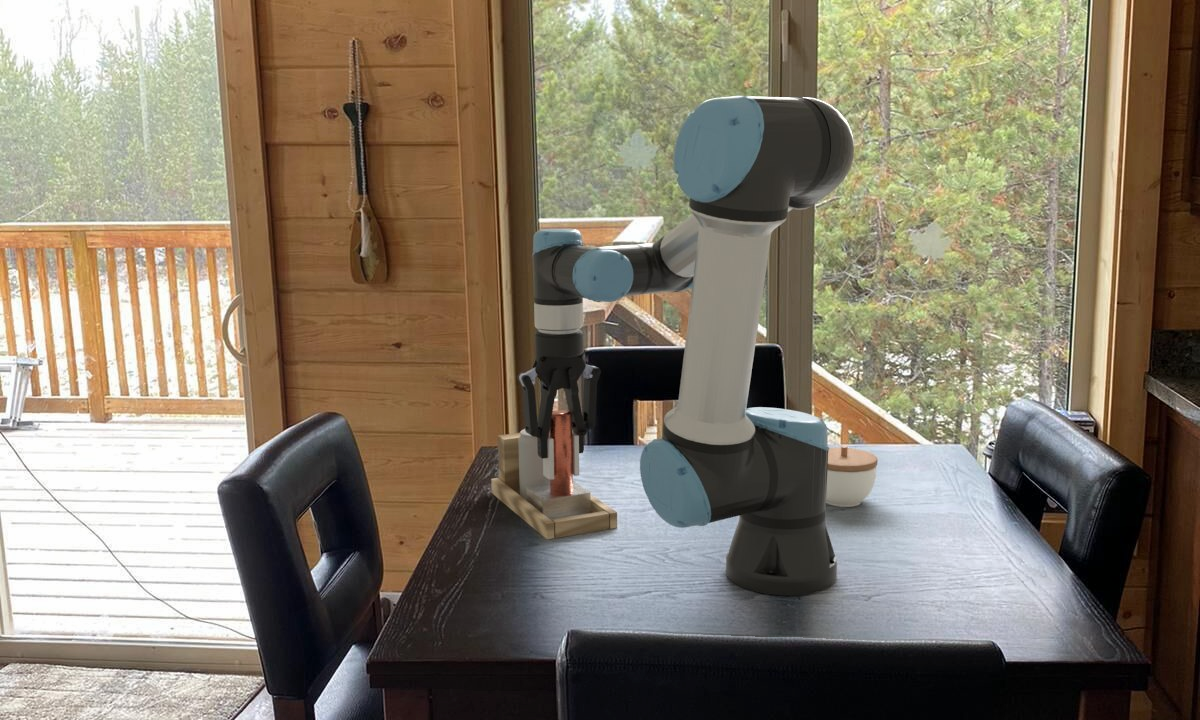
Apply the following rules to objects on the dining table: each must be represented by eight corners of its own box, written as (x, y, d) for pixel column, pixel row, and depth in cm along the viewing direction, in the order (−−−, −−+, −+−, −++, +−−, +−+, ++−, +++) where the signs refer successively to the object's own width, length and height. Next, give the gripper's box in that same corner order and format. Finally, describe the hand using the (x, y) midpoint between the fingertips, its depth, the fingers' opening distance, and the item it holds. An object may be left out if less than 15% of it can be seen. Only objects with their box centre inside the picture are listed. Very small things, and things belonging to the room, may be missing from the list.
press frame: (617, 527, 174) (616, 465, 172) (546, 539, 169) (545, 476, 167) (555, 483, 196) (554, 428, 194) (491, 492, 191) (490, 436, 189)
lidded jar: (870, 491, 190) (873, 438, 188) (880, 512, 179) (882, 456, 178) (807, 490, 191) (808, 437, 189) (812, 511, 180) (814, 455, 179)
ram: (590, 516, 178) (589, 413, 175) (543, 524, 175) (541, 419, 171) (573, 503, 184) (571, 403, 181) (526, 511, 181) (524, 409, 178)
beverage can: (556, 506, 184) (555, 435, 182) (518, 506, 184) (516, 435, 182) (559, 493, 190) (557, 425, 188) (521, 493, 190) (519, 425, 188)
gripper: (597, 321, 179) (599, 462, 184) (499, 330, 172) (503, 475, 177) (618, 328, 172) (618, 474, 177) (516, 337, 166) (520, 489, 170)
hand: (561, 474), depth 177 cm, fingers closed on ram, 4 cm apart
